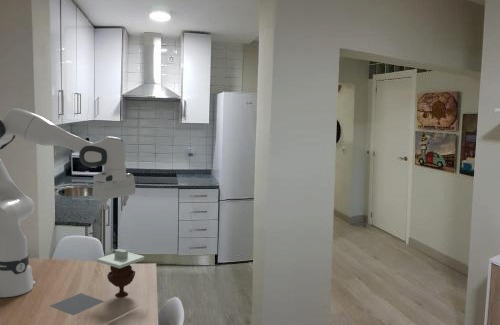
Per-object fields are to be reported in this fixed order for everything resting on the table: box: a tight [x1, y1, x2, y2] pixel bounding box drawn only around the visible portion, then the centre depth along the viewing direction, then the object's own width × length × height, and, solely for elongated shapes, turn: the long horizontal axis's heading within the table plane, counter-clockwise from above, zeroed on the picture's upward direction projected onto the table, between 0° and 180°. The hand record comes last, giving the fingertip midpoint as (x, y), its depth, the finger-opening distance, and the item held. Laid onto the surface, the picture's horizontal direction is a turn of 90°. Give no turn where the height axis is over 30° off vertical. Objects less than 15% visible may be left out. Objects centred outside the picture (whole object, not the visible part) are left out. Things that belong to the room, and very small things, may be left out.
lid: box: [96, 248, 145, 268], centre depth 169 cm, size 13×13×4 cm
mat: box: [50, 293, 105, 316], centre depth 162 cm, size 14×14×1 cm
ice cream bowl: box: [106, 264, 136, 298], centre depth 170 cm, size 11×11×15 cm
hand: (115, 207), depth 176 cm, fingers open, 8 cm apart
